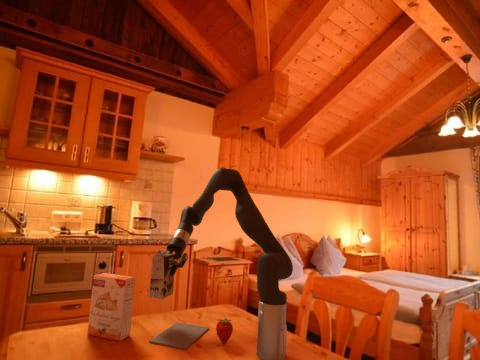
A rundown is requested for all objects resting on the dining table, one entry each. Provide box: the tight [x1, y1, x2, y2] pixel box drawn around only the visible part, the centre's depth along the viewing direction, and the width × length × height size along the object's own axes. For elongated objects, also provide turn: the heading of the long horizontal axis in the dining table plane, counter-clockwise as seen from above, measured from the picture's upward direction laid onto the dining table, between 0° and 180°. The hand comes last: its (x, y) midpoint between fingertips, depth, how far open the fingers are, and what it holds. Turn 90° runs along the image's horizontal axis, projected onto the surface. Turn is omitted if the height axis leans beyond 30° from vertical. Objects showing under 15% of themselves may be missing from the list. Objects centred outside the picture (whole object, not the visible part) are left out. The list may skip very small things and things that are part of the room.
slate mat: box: [148, 321, 210, 351], centre depth 111 cm, size 14×20×1 cm
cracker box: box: [87, 272, 136, 342], centre depth 108 cm, size 14×6×21 cm, turn 73°
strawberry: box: [215, 315, 234, 346], centre depth 106 cm, size 6×8×10 cm
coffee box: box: [148, 253, 176, 300], centre depth 120 cm, size 9×6×16 cm
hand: (162, 273), depth 120 cm, fingers closed on coffee box, 7 cm apart
